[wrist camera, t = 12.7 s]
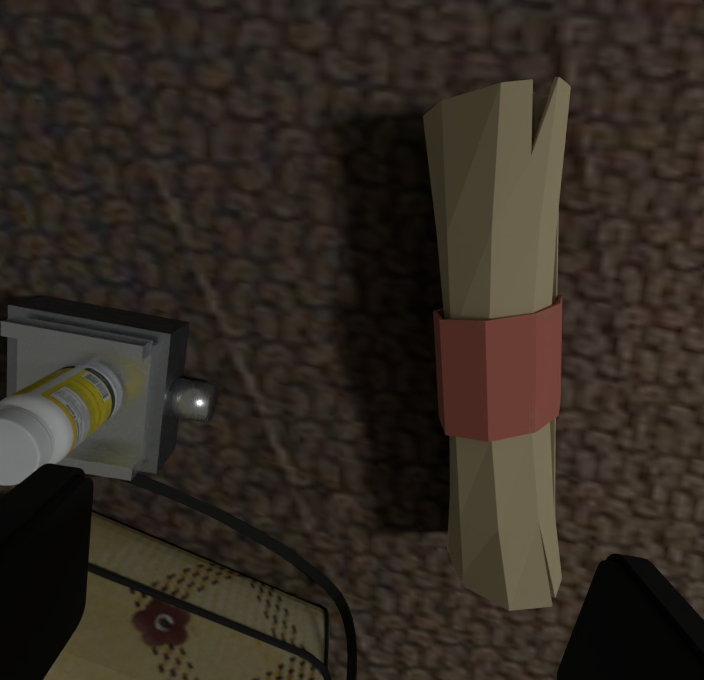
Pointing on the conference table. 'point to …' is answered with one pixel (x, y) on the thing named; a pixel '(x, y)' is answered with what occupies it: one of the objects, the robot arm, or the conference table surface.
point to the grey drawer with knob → (112, 377)
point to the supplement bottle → (52, 419)
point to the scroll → (500, 332)
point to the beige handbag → (193, 612)
